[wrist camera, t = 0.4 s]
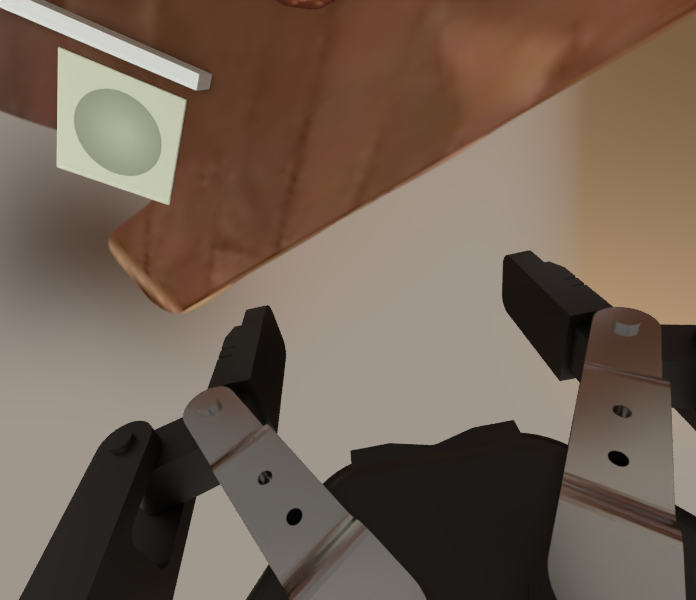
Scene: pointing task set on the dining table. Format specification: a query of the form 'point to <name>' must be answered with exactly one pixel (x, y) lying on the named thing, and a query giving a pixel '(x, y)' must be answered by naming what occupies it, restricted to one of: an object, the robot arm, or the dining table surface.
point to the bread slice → (305, 3)
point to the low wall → (109, 41)
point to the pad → (117, 127)
